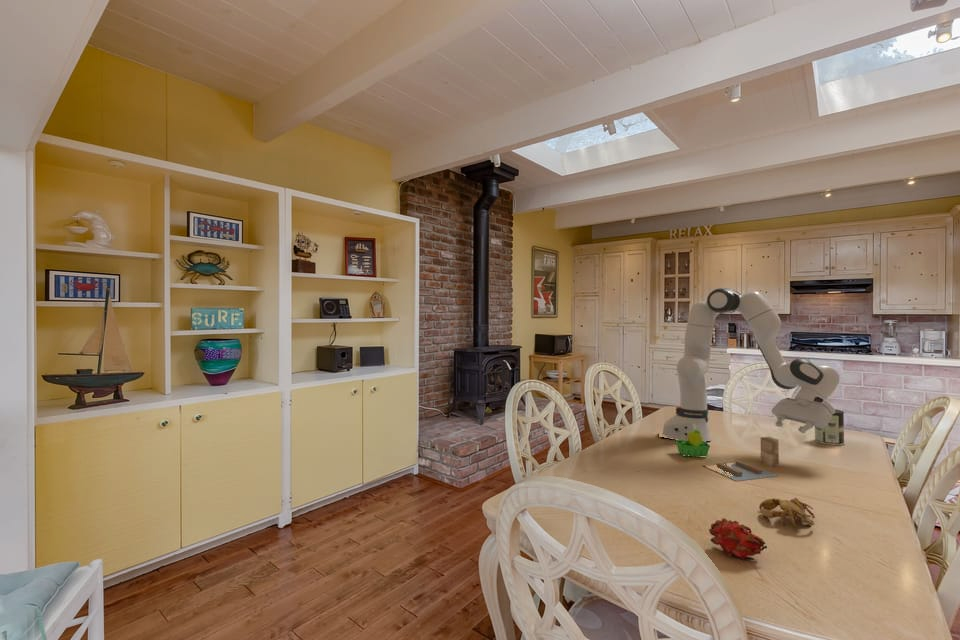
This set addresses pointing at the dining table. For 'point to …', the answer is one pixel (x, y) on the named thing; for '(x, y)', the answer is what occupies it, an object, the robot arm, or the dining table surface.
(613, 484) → the dining table surface
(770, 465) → the card block
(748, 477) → the mat
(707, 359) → the robot arm
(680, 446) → the fruit basket
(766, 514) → the crab model
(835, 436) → the coffee can
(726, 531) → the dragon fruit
